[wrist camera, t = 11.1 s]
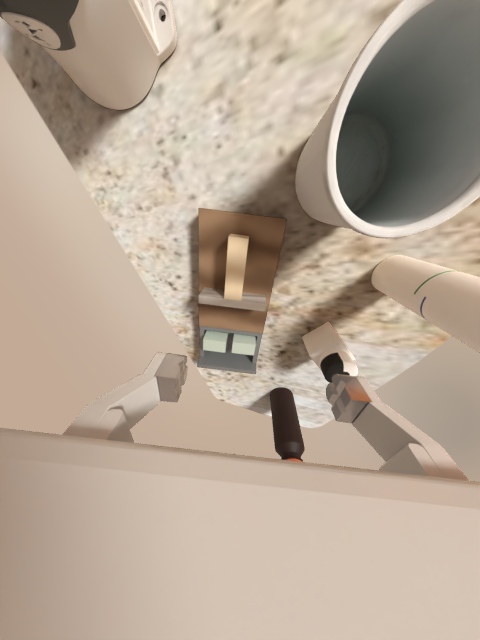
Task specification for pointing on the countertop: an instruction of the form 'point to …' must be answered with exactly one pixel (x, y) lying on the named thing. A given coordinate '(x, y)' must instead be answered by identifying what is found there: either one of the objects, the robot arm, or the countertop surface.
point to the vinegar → (286, 425)
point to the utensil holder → (401, 126)
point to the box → (228, 353)
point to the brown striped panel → (257, 270)
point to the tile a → (215, 341)
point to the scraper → (234, 280)
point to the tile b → (244, 344)
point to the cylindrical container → (433, 295)
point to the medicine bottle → (329, 352)
